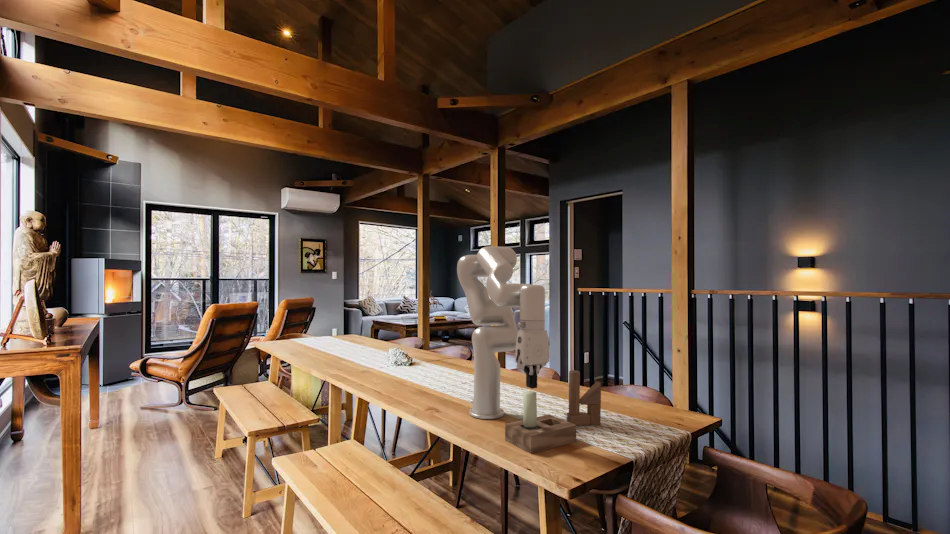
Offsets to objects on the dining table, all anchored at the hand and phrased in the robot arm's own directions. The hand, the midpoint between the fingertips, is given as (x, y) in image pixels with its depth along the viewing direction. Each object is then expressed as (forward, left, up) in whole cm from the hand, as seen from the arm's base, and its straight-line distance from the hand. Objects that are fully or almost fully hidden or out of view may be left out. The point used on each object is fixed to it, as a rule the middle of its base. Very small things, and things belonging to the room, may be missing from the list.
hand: (531, 387), depth 134 cm
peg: (0, 0, -16) cm, 16 cm away
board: (0, +4, -17) cm, 17 cm away
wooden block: (-4, +27, -17) cm, 32 cm away
